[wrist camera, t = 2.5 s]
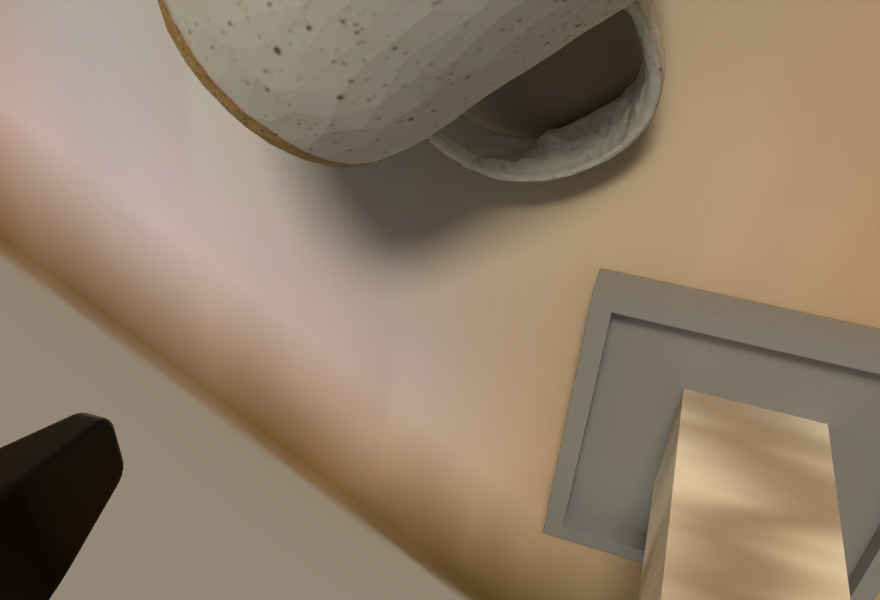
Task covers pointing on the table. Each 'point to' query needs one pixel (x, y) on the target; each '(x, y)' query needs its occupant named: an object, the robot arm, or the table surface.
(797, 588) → the tan rectangular block
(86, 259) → the table surface
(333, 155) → the ceramic mug
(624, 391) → the tray
